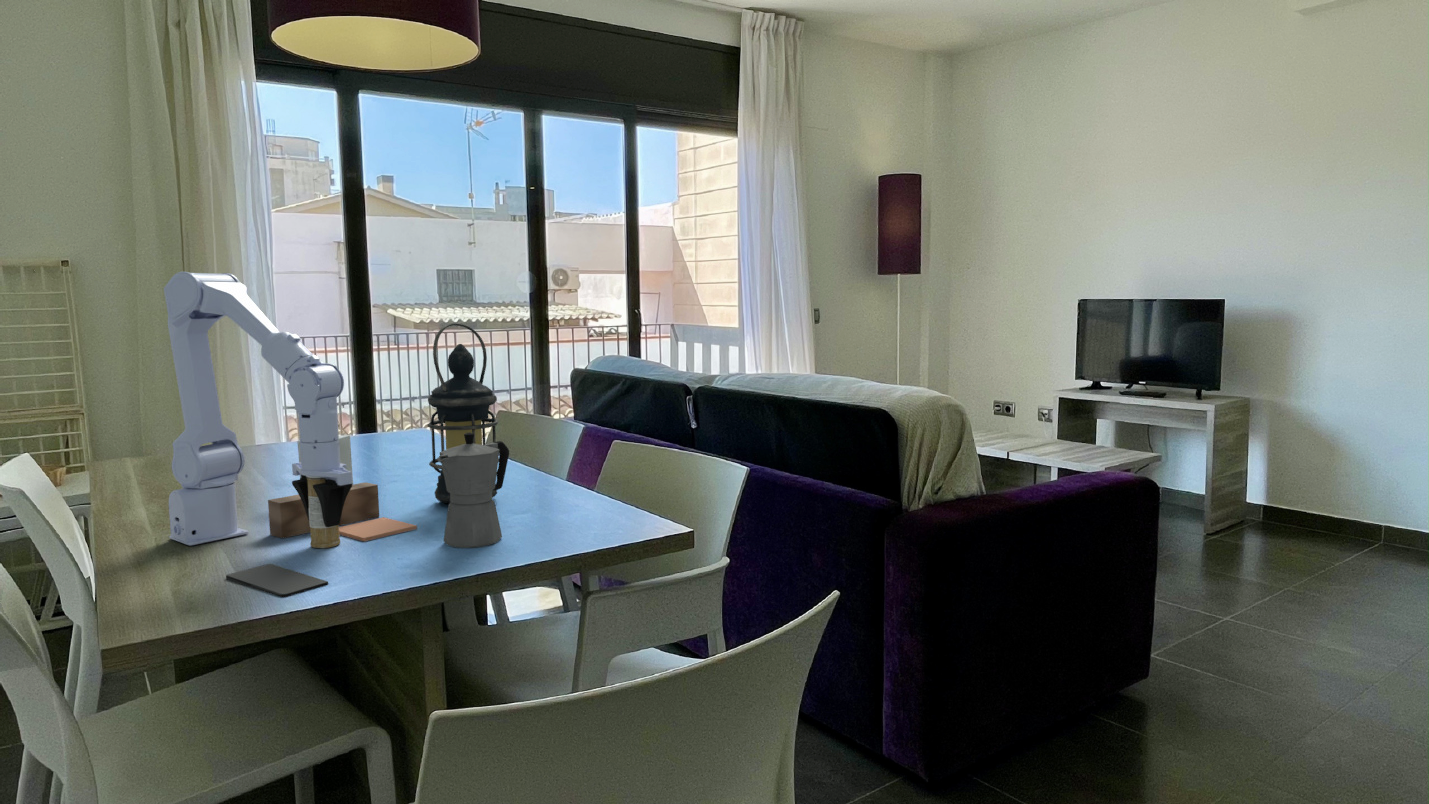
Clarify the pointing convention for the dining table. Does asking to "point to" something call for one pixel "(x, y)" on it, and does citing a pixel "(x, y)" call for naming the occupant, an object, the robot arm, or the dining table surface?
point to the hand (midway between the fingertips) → (324, 523)
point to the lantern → (459, 406)
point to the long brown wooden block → (293, 519)
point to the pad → (375, 529)
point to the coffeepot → (473, 492)
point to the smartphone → (276, 580)
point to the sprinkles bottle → (319, 519)
